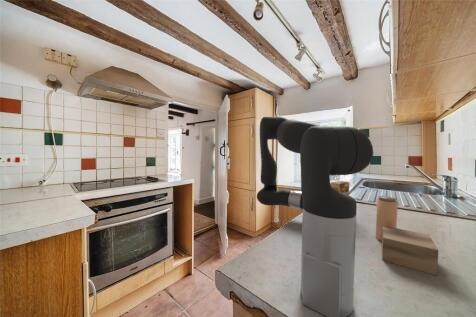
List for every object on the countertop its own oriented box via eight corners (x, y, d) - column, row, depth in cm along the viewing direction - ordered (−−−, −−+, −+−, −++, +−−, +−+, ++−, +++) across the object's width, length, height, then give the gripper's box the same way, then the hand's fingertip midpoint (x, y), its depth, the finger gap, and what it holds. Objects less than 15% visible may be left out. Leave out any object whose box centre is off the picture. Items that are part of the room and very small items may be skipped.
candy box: (338, 219, 78) (339, 183, 77) (328, 216, 82) (329, 182, 81) (348, 215, 83) (349, 181, 82) (339, 212, 87) (340, 180, 86)
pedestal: (437, 275, 43) (438, 250, 42) (382, 259, 49) (383, 237, 48) (428, 256, 50) (429, 234, 50) (381, 244, 57) (382, 225, 56)
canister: (396, 245, 56) (398, 200, 56) (375, 240, 59) (377, 198, 59) (395, 239, 60) (397, 197, 60) (375, 234, 64) (377, 195, 63)
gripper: (296, 194, 70) (344, 202, 61) (307, 188, 82) (349, 194, 72) (295, 214, 71) (343, 224, 61) (307, 205, 82) (349, 213, 72)
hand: (347, 208), depth 66 cm, fingers open, 8 cm apart
